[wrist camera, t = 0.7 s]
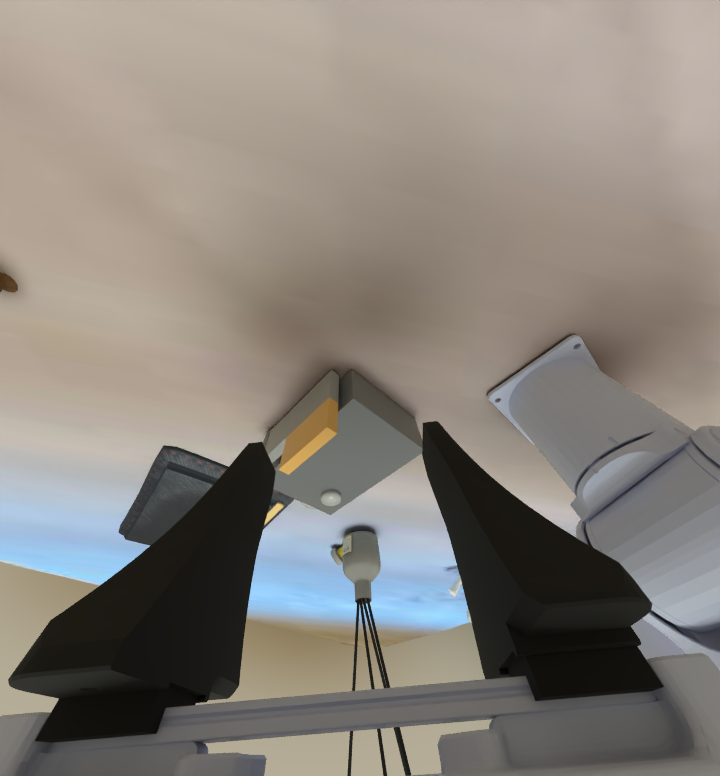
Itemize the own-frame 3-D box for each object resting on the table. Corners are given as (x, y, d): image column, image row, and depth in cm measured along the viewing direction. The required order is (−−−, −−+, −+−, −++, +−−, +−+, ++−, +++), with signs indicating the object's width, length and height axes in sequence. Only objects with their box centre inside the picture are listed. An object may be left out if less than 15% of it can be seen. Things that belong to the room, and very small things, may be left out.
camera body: (414, 418, 25) (427, 455, 21) (327, 483, 30) (325, 523, 26) (351, 369, 21) (353, 402, 18) (265, 451, 26) (252, 492, 23)
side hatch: (340, 376, 21) (339, 434, 16) (274, 440, 25) (254, 505, 19) (330, 368, 21) (324, 425, 15) (264, 434, 25) (240, 500, 19)
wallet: (158, 451, 24) (301, 506, 30) (169, 436, 25) (304, 492, 31) (104, 542, 32) (225, 572, 38) (115, 527, 33) (230, 557, 39)
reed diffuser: (364, 512, 33) (384, 812, 17) (405, 527, 36) (457, 800, 19) (322, 547, 38) (305, 810, 21) (361, 558, 40) (373, 801, 24)
